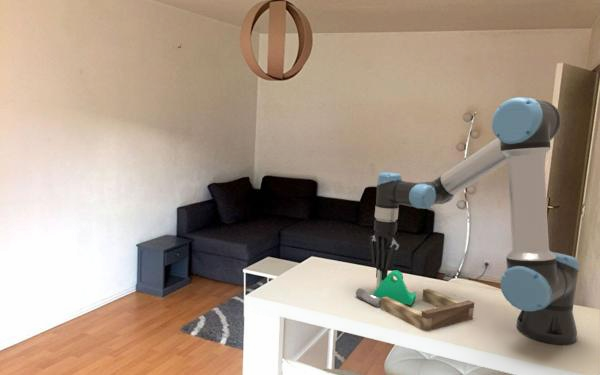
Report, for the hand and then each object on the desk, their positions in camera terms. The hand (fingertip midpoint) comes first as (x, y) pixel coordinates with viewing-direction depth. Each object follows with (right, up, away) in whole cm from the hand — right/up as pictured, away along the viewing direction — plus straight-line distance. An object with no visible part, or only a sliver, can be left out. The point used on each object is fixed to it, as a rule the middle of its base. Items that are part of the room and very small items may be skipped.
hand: (380, 288), depth 161 cm
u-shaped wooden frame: (+11, -4, -17) cm, 20 cm away
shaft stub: (-6, -2, -10) cm, 12 cm away
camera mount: (+3, -3, -7) cm, 8 cm away
